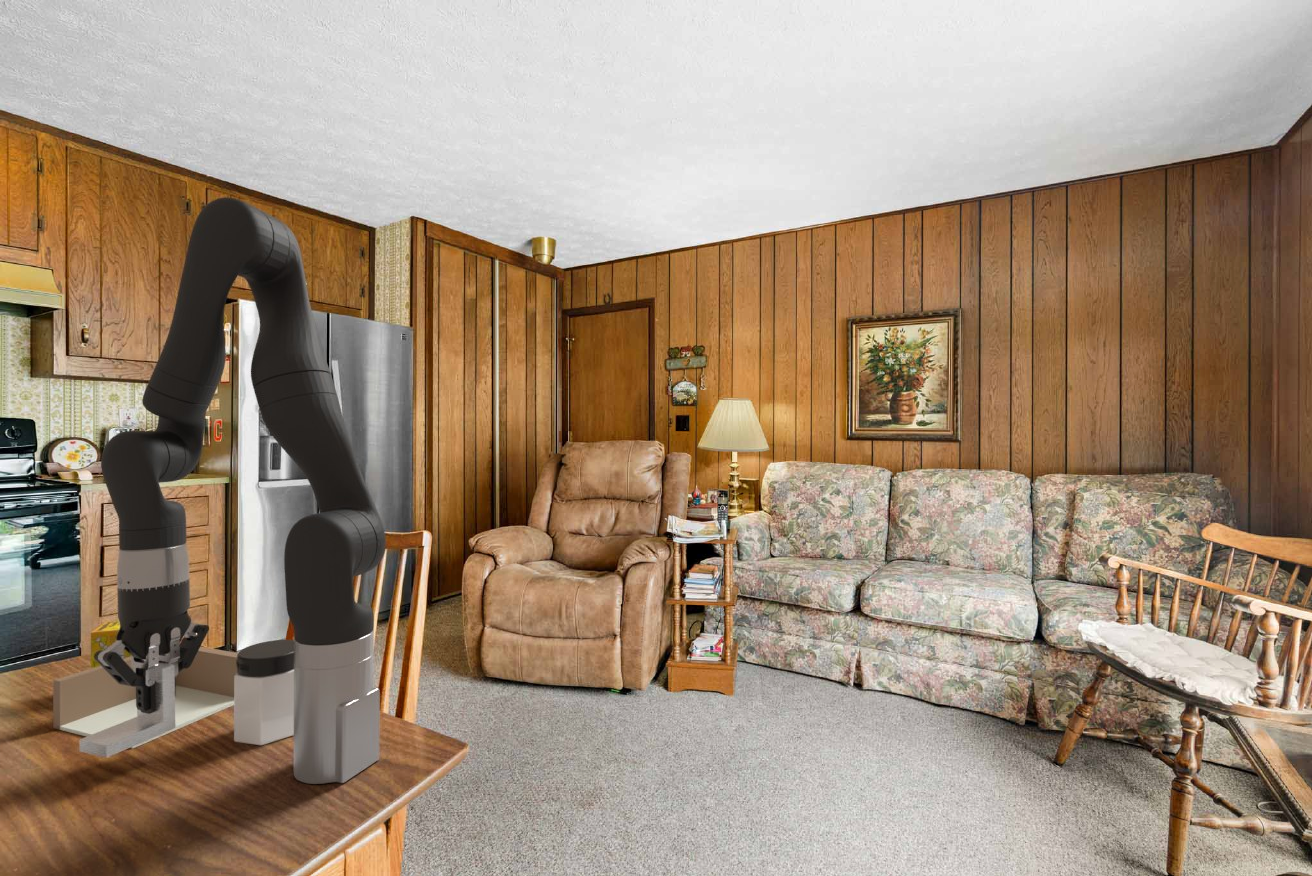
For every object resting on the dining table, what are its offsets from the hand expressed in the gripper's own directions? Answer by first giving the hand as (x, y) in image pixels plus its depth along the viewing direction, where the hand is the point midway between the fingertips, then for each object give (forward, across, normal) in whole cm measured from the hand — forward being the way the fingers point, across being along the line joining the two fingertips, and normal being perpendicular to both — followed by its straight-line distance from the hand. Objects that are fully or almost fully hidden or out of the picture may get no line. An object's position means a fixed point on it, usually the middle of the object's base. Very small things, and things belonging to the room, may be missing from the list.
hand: (156, 708), depth 83 cm
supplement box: (+6, +12, +28) cm, 31 cm away
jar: (+7, +10, -8) cm, 14 cm away
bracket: (+3, -3, 0) cm, 4 cm away
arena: (+6, +8, +13) cm, 17 cm away
